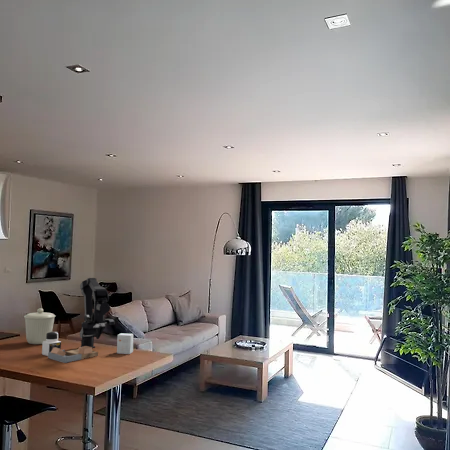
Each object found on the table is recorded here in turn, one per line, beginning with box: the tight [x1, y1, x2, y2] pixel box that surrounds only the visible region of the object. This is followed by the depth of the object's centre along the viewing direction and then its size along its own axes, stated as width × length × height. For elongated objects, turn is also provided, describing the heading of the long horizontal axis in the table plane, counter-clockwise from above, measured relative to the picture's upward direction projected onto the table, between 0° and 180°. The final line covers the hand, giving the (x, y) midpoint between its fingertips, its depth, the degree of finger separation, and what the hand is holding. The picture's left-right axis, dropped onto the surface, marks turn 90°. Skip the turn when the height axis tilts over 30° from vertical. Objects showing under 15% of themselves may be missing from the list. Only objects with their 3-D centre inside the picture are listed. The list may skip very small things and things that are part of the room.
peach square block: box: [78, 346, 93, 354], centre depth 237 cm, size 5×5×3 cm
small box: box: [116, 332, 134, 355], centre depth 250 cm, size 8×6×10 cm
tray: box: [47, 349, 82, 364], centre depth 231 cm, size 10×15×3 cm, turn 55°
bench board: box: [65, 348, 99, 360], centre depth 240 cm, size 11×14×2 cm
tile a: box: [51, 347, 66, 356], centre depth 232 cm, size 5×5×3 cm
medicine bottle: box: [41, 331, 62, 357], centre depth 240 cm, size 7×7×12 cm
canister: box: [23, 307, 57, 345], centre depth 269 cm, size 18×18×21 cm
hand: (97, 338), depth 244 cm, fingers closed
